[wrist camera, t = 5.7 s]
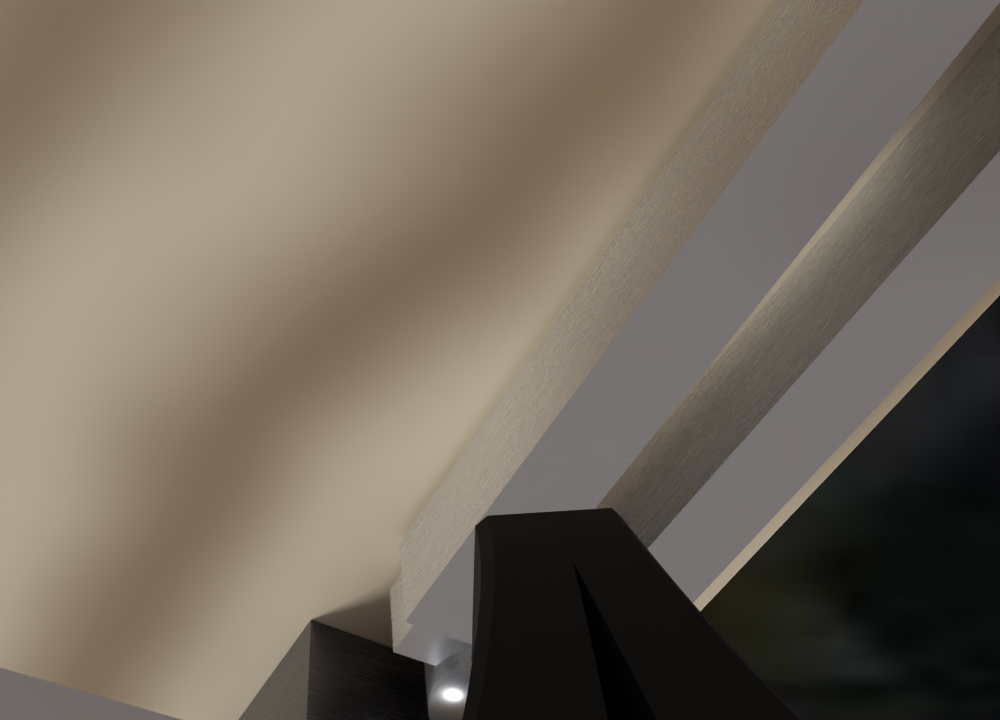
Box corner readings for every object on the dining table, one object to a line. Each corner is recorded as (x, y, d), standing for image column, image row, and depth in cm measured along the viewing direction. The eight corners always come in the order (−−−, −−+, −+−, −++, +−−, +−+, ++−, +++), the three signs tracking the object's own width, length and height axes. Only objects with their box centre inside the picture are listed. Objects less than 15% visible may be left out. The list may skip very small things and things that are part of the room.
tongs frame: (230, 730, 20) (217, 835, 18) (1286, -726, 11) (1513, -853, 9) (451, 794, 22) (462, 894, 20) (1497, -370, 13) (1718, -403, 11)
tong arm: (345, 620, 19) (344, 707, 17) (1297, -730, 10) (1493, -840, 9) (485, 666, 20) (498, 752, 18) (1435, -508, 12) (1633, -565, 10)
